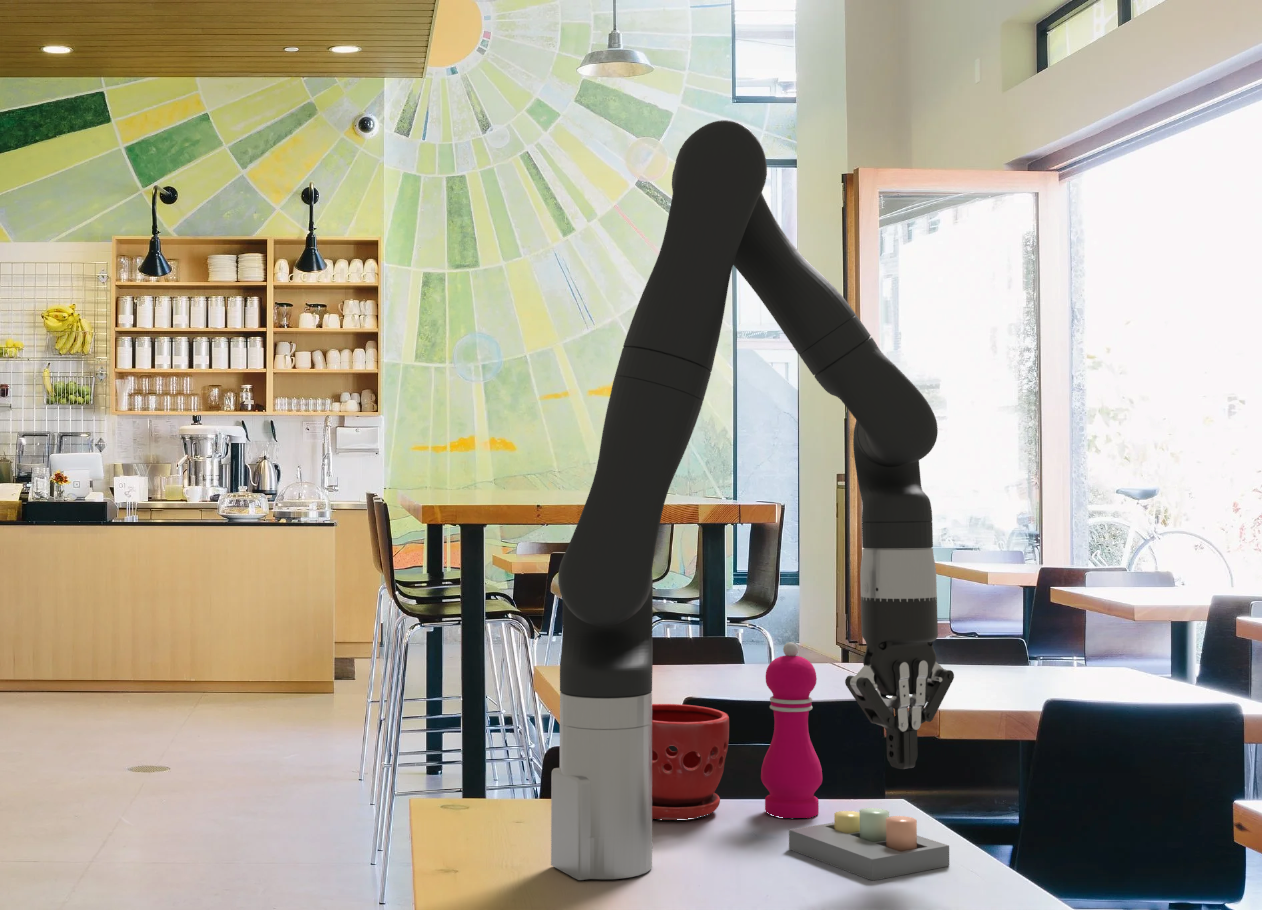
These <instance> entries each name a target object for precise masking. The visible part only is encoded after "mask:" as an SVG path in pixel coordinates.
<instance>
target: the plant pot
mask: <svg viewBox="0 0 1262 910" xmlns="http://www.w3.org/2000/svg"><path fill="white" fill-rule="evenodd" d="M729 739H730V717H729V714H728V713H727V712H724V711H721V710H719V709H715V708H712V707H707V706H706V707H705V706H699V705H691V704H679V703H677V704H676V703H652V820H653V819H662V820H677V819H688V818H697V817H700V816H704V815H707V814H709V815H711V814H713V813H714V812H715V811H716V810H717V809H718V807H719V806H720V803H721V797H720V796H719V795H718V793H715V792H716V790H717V788H718V786H719V784H720V782H721V780H722V777H723V774H724V770H725V763H726V757H727V753H728V750H729V749H728V748H729V742H730V741H729ZM670 747H675V748H676V750H675V751H672V749H670ZM712 812H713V813H712ZM710 813H711V814H710ZM707 816H708V815H707ZM662 820H661V821H662Z"/></svg>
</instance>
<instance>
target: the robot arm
mask: <svg viewBox="0 0 1262 910" xmlns="http://www.w3.org/2000/svg"><path fill="white" fill-rule="evenodd" d="M766 159H767V158H766V154H765V151H764V148H763V146H762V144H761V142H760V140H759V138H758V137H757V136H756V135H755V133H754V132H753V131H752V130H751V129H750V128H748V127H747V126H745V125H744V124H742V123H740V122H737V121H734V120H723V119H722V120H715V121H712V122H709V123H707V124H705V125H703V126H701V127H700V128H698V129H697V130H695V131H694V132H693V133H691V134H690V136H688V138H687V139H686V140H685V141H684V143H683V144H682V146H681V147H680V149H679V151H678V153H677V156H676V160H675V164H674V166H673V167H674V168H673V170H672V171H673V172H672V176H671V189H672V196H671V197H672V198H671V202H670V207H669V212H668V215H667V216H668V217H667V222H666V227H665V233H664V236H663V240H662V243H661V247H660V250H659V252H658V256H657V259H656V261H655V264H654V266H653V268H652V270H651V274H650V275H649V276H648V277H649V278H648V280H647V283H646V284H645V287H644V289H643V290H642V291H643V292H642V294H641V296H640V299H639V301H638V304H637V307H636V309H635V312H634V314H633V317H632V320H631V322H630V324H629V325H630V326H629V327H628V328H629V329H628V330H627V334H626V336H625V340H624V343H623V346H622V347H623V348H622V350H621V353H620V357H619V360H618V364H617V366H616V371H615V374H614V376H613V377H614V378H613V381H612V385H611V391H610V393H609V394H610V395H609V400H608V403H607V408H606V412H605V416H604V417H605V418H604V423H603V428H602V434H601V440H600V445H599V452H598V453H599V454H598V460H597V464H596V470H595V473H594V477H593V481H592V484H591V487H590V490H589V493H588V495H587V497H586V500H585V503H584V506H583V509H582V512H581V515H580V517H579V520H578V521H577V525H576V527H575V528H574V529H575V530H574V532H573V534H572V537H571V539H570V541H569V543H568V546H567V547H566V550H565V552H564V554H563V557H562V559H561V561H560V564H559V567H558V568H559V569H558V575H557V576H558V577H557V580H558V582H557V584H558V588H559V592H560V595H561V598H562V639H561V640H562V641H561V655H560V665H559V691H560V692H559V767H555V768H553V769H552V770H551V775H550V776H551V786H550V787H551V789H550V790H551V791H550V792H551V796H550V797H551V798H550V801H551V806H550V810H551V817H550V818H551V819H550V822H551V823H550V825H551V826H550V827H551V829H550V831H551V832H550V837H551V838H550V839H551V840H550V841H551V842H550V866H552V867H554V868H555V869H556V870H559V871H561V872H563V873H565V874H566V875H568V876H570V877H572V878H573V879H576V880H578V881H584V880H619V879H628V878H633V877H638V876H641V875H644V874H646V873H648V872H649V871H651V869H652V868H653V847H654V846H653V819H652V704H653V667H654V666H653V662H654V661H653V659H654V658H653V657H654V656H653V655H654V651H653V649H654V648H653V647H654V645H653V643H654V642H653V618H654V617H653V615H654V614H653V613H654V612H653V608H654V606H653V605H654V604H653V601H654V600H653V594H654V593H653V592H654V591H653V586H654V584H653V582H654V581H653V580H654V579H653V565H654V559H655V552H656V546H657V540H658V535H659V529H660V526H661V525H660V524H661V520H662V515H663V510H664V508H665V502H666V499H667V496H668V493H669V490H670V487H671V484H672V482H673V480H674V477H675V475H676V473H677V470H678V468H679V466H680V464H681V463H682V462H681V461H682V459H683V457H684V455H685V453H686V450H687V448H688V445H689V443H690V440H691V438H692V435H693V433H694V430H695V427H696V424H697V421H698V419H699V416H700V414H701V413H700V412H701V410H702V407H703V403H704V400H705V396H706V393H707V389H708V385H709V381H710V379H711V375H712V370H713V367H714V362H715V357H716V352H717V349H718V344H719V340H720V335H721V329H722V324H723V320H724V315H725V309H726V302H727V297H728V292H729V291H728V290H729V284H730V278H731V275H732V270H733V267H734V268H736V270H737V271H738V272H739V273H740V275H741V276H742V277H743V279H744V280H745V281H746V282H747V284H748V285H749V286H750V287H751V288H752V290H753V292H755V294H756V295H757V297H758V298H759V299H760V301H761V302H762V303H763V305H764V307H766V309H767V310H768V312H769V313H770V315H771V317H772V318H773V319H774V320H775V323H777V325H778V326H779V328H780V330H781V331H782V333H783V334H784V335H785V337H786V338H787V340H788V341H789V342H790V344H791V345H792V347H793V348H794V350H795V351H796V353H797V354H798V355H799V357H800V359H801V360H802V362H803V363H804V365H806V368H808V370H809V371H810V373H811V374H812V375H813V376H814V379H815V380H816V381H817V383H818V384H819V385H820V386H821V387H822V388H823V390H825V392H826V393H828V394H830V395H832V396H834V397H836V398H838V399H840V401H841V402H842V403H843V405H844V406H845V407H846V408H847V410H848V411H849V412H850V414H851V415H852V416H853V418H854V419H855V424H854V429H853V438H852V439H853V441H852V443H853V444H852V445H853V457H854V464H855V472H856V477H857V483H858V488H859V493H860V498H861V507H862V508H861V548H863V549H861V550H862V551H861V552H862V553H861V554H862V555H861V563H860V614H861V615H860V617H861V618H860V619H861V637H862V639H863V640H864V642H865V643H866V644H865V645H866V649H865V653H864V655H863V658H862V664H863V667H862V668H861V669H859V671H858V673H856V675H848V676H846V678H845V679H844V683H845V686H846V688H847V689H848V690H849V693H851V695H852V696H853V699H854V700H855V701H856V702H857V704H858V705H859V707H860V709H861V710H862V712H863V713H864V714H865V716H866V718H867V719H868V720H869V722H870V723H871V724H876V725H878V726H880V727H883V728H884V730H885V735H886V740H885V741H886V758H887V762H889V764H890V767H891V768H895V769H899V770H905V769H912V768H914V767H916V762H917V760H918V757H919V756H918V753H919V751H918V730H919V729H920V728H921V725H922V724H924V723H925V722H928V723H930V722H933V720H934V718H935V715H936V714H937V712H938V711H939V708H940V706H941V704H942V703H943V700H944V698H945V697H946V694H947V693H948V691H949V688H950V686H951V685H952V682H953V681H954V678H955V674H954V673H955V672H953V670H951V669H945V668H943V667H942V666H941V665H940V664H939V663H938V662H937V653H936V650H935V648H934V645H933V644H934V643H933V642H935V641H936V640H937V639H938V636H939V629H938V628H939V626H938V593H937V589H938V587H937V583H938V582H937V568H936V562H935V556H934V555H935V554H934V548H933V547H934V538H933V537H934V535H933V533H934V531H933V529H934V528H933V511H932V504H931V500H930V497H929V496H928V495H927V494H926V493H925V492H924V491H923V488H922V480H921V471H920V460H922V459H924V457H926V456H927V455H928V454H929V453H930V452H931V451H932V450H933V448H934V446H935V444H936V442H937V439H938V433H939V431H938V422H937V419H936V416H935V413H934V411H933V409H932V408H931V405H930V404H929V402H928V401H927V399H926V398H925V397H924V395H923V394H922V393H921V391H920V390H919V389H918V388H917V387H916V386H915V384H913V382H912V381H911V380H910V379H909V378H908V376H906V375H905V374H904V373H903V372H902V371H901V370H900V369H899V368H898V367H897V366H896V365H895V364H894V362H892V361H891V360H890V358H889V357H887V356H886V355H885V354H884V353H883V352H882V351H881V350H880V348H879V346H878V345H877V343H876V341H875V340H874V338H873V337H872V336H871V335H872V334H870V331H868V329H867V328H866V326H865V325H864V324H863V322H862V321H861V319H860V318H859V317H858V315H857V314H856V312H855V311H854V310H853V308H852V307H851V305H850V304H849V303H848V302H847V300H846V299H845V298H844V296H843V295H842V294H841V293H840V292H839V291H838V289H837V288H836V287H835V286H834V285H833V284H832V283H831V282H830V280H828V279H827V278H826V277H825V276H824V275H823V274H822V273H821V272H820V271H819V270H818V269H817V268H816V267H814V265H812V264H811V263H810V261H808V260H807V259H806V257H804V256H803V254H801V252H800V251H799V250H798V248H796V247H795V245H794V244H793V242H792V241H791V240H790V239H789V238H788V237H787V235H786V233H785V232H784V231H783V230H782V227H780V225H779V223H778V221H777V220H776V219H775V217H774V214H773V213H772V211H771V209H770V206H769V205H768V203H767V201H766V198H765V196H764V194H763V190H764V187H765V185H766V183H767V181H766V180H767V176H768V163H767V160H766Z"/></svg>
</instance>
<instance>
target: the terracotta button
mask: <svg viewBox="0 0 1262 910" xmlns="http://www.w3.org/2000/svg"><path fill="white" fill-rule="evenodd" d="M917 823H918V822H917V819H916V818H914V817H911V816H905V815H893V816H889V817H887V818H886V847H888V848H891V849H894V850H897V851H900V852H902V851H907V850H913V849H917V836H918V834H917V833H918V829H917V826H918V825H917Z"/></svg>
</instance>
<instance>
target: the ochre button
mask: <svg viewBox="0 0 1262 910" xmlns="http://www.w3.org/2000/svg"><path fill="white" fill-rule="evenodd" d="M833 815H834V816H833V817H834V821H833V823H835V830H838V831H841V832H844V833H846V834H848V833H854V832H860V817H859V811H852V810H841V811H835V813H834V814H833Z"/></svg>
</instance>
